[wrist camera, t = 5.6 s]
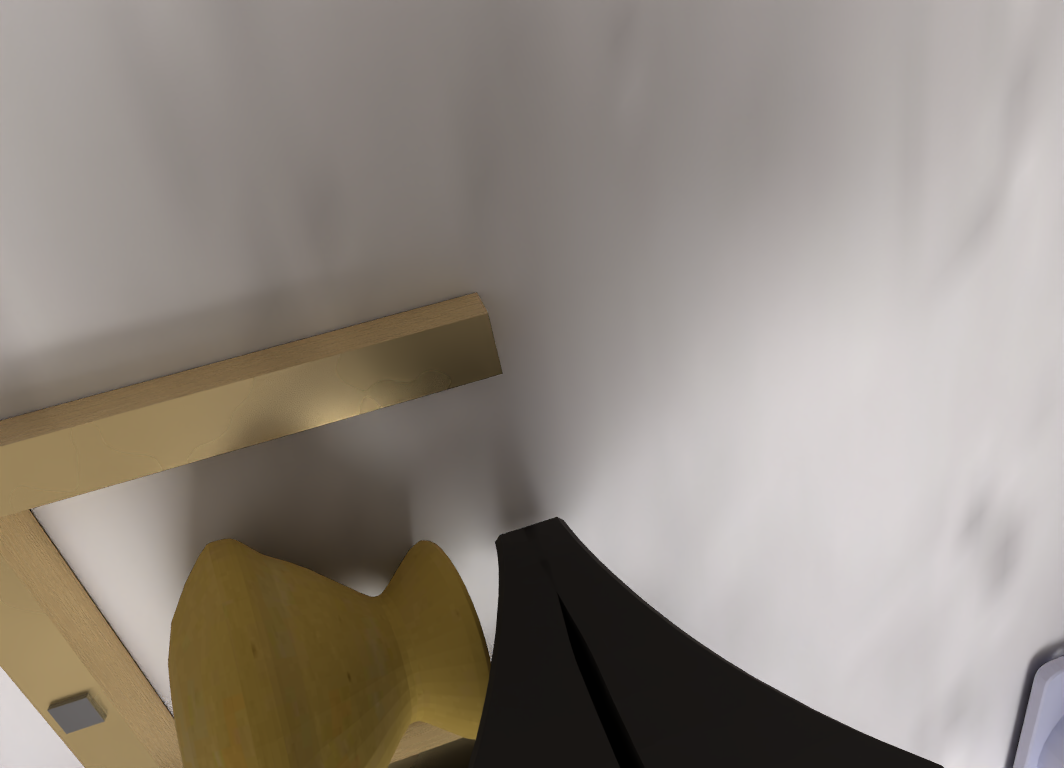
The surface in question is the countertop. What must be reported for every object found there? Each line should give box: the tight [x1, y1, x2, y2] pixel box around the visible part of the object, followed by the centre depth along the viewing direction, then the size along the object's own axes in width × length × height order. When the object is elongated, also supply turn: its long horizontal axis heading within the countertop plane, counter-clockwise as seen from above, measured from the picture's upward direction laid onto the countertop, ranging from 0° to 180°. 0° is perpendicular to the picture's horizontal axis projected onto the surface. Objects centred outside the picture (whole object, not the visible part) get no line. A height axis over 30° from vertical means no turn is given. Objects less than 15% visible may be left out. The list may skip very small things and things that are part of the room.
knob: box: [168, 538, 491, 768], centre depth 10 cm, size 5×5×5 cm
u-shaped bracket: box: [0, 292, 503, 768], centre depth 12 cm, size 8×10×1 cm
